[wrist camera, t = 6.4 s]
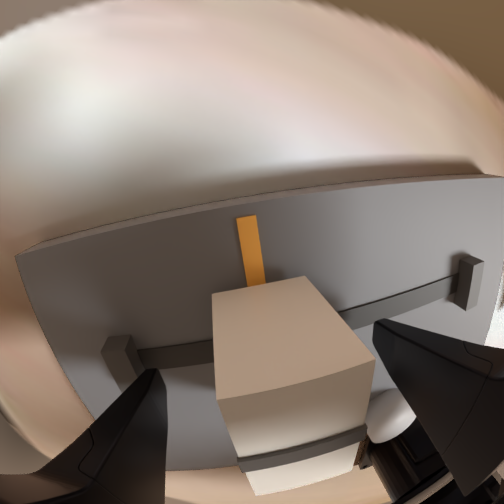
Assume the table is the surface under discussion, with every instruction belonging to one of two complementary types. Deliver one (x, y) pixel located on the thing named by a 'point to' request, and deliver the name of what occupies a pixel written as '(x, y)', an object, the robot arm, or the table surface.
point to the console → (261, 272)
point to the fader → (289, 383)
